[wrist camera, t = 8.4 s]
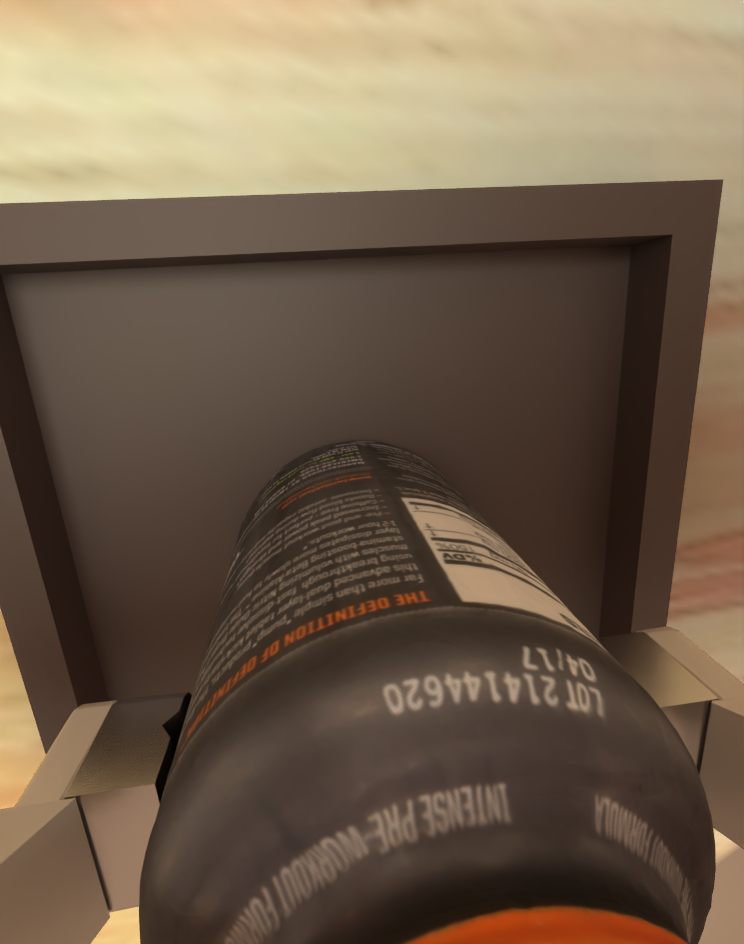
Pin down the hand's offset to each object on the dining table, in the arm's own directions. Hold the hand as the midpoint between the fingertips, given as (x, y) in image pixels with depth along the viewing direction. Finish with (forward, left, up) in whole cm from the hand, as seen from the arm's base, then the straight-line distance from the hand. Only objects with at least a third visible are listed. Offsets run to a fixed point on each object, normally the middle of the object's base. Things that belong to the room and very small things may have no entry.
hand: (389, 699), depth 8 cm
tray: (0, 0, -6) cm, 6 cm away
